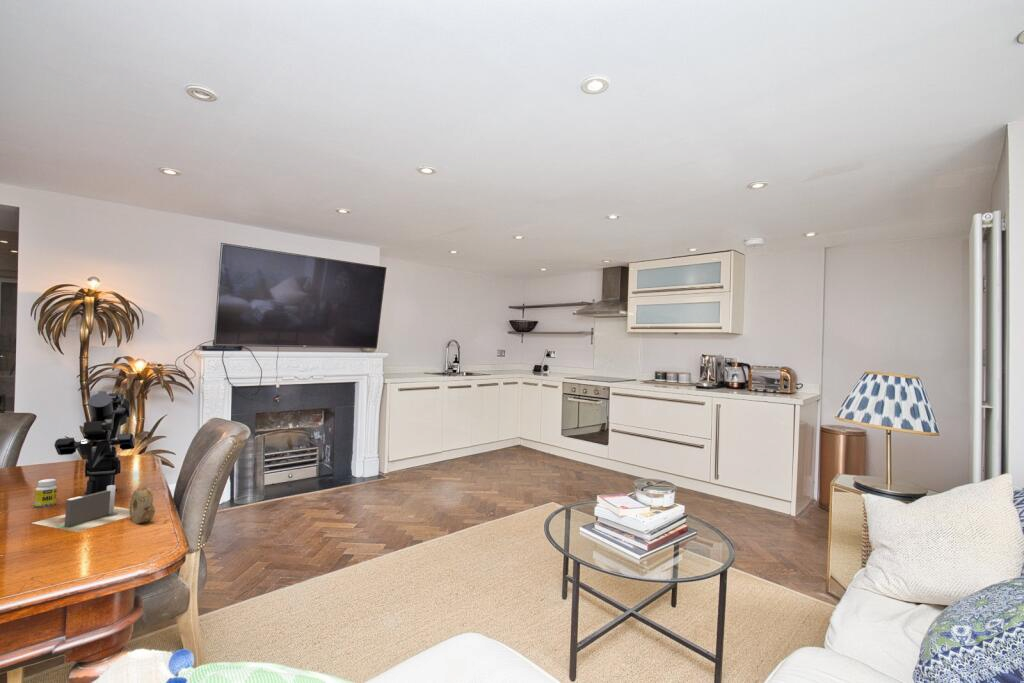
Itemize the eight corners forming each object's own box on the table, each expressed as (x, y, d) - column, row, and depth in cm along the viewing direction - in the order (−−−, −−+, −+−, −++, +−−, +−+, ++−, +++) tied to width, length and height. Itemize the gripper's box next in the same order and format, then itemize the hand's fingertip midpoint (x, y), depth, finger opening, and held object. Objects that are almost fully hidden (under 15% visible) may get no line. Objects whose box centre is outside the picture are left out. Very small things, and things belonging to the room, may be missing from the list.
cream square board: (102, 506, 145) (102, 504, 145) (145, 513, 141) (145, 511, 141) (31, 525, 128) (31, 522, 128) (77, 534, 124) (77, 531, 124)
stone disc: (125, 520, 135) (128, 486, 135) (140, 517, 138) (143, 483, 138) (139, 528, 129) (141, 493, 130) (154, 525, 132) (157, 490, 133)
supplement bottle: (40, 510, 139) (43, 483, 140) (29, 509, 140) (31, 481, 141) (59, 506, 144) (61, 479, 144) (47, 504, 145) (50, 477, 145)
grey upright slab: (109, 512, 138) (112, 484, 139) (115, 513, 138) (117, 485, 138) (63, 526, 127) (66, 495, 127) (69, 526, 126) (71, 496, 126)
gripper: (56, 413, 141) (43, 456, 132) (133, 409, 151) (126, 449, 142) (64, 433, 148) (52, 476, 139) (138, 428, 158) (131, 468, 148)
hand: (91, 467), depth 142 cm, fingers closed
